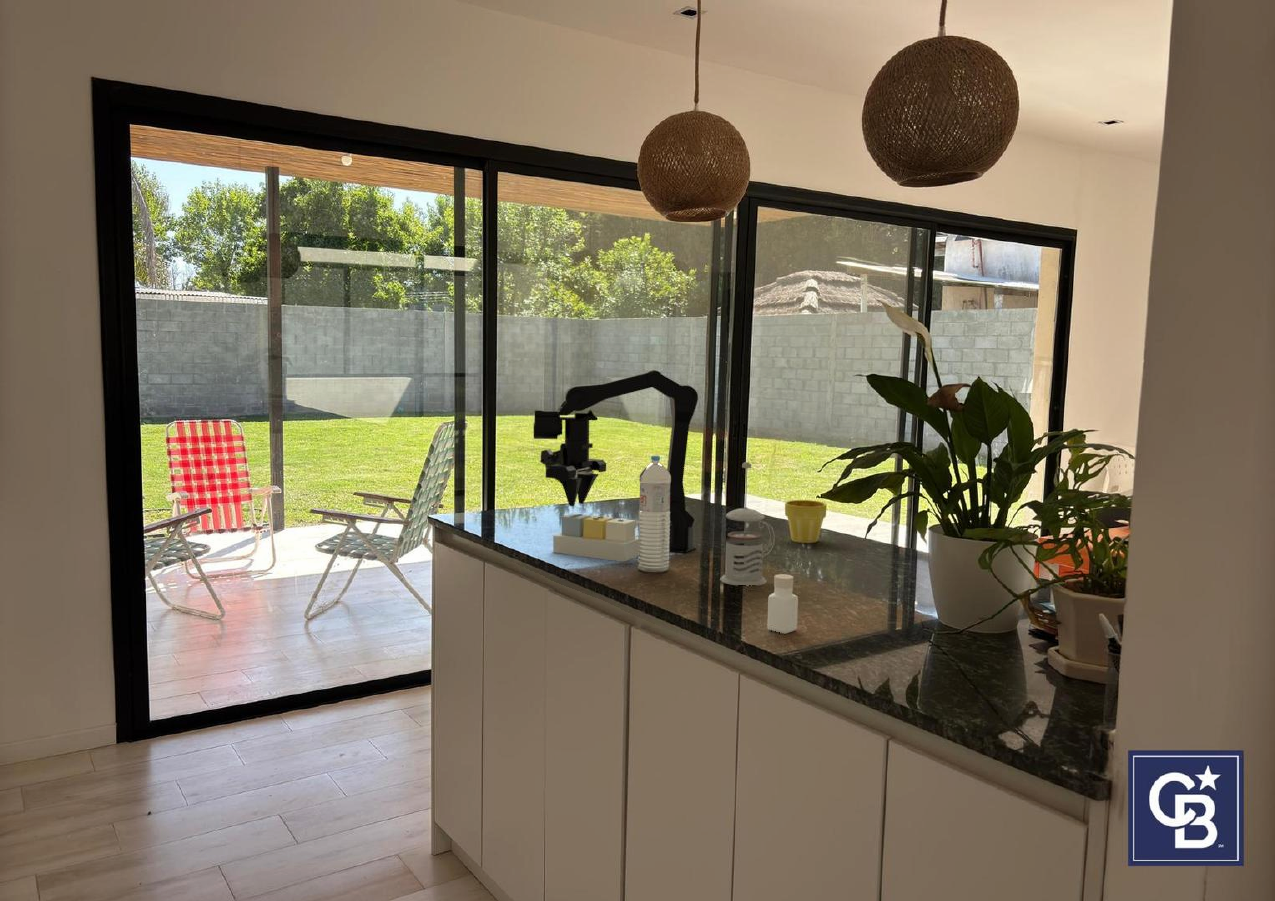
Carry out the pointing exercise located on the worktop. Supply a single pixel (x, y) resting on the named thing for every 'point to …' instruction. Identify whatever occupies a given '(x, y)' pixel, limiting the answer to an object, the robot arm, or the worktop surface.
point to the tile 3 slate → (573, 524)
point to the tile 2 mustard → (595, 527)
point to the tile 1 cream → (620, 530)
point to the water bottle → (654, 518)
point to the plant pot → (805, 519)
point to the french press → (745, 548)
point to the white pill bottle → (782, 605)
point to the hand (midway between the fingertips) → (576, 504)
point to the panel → (595, 547)
